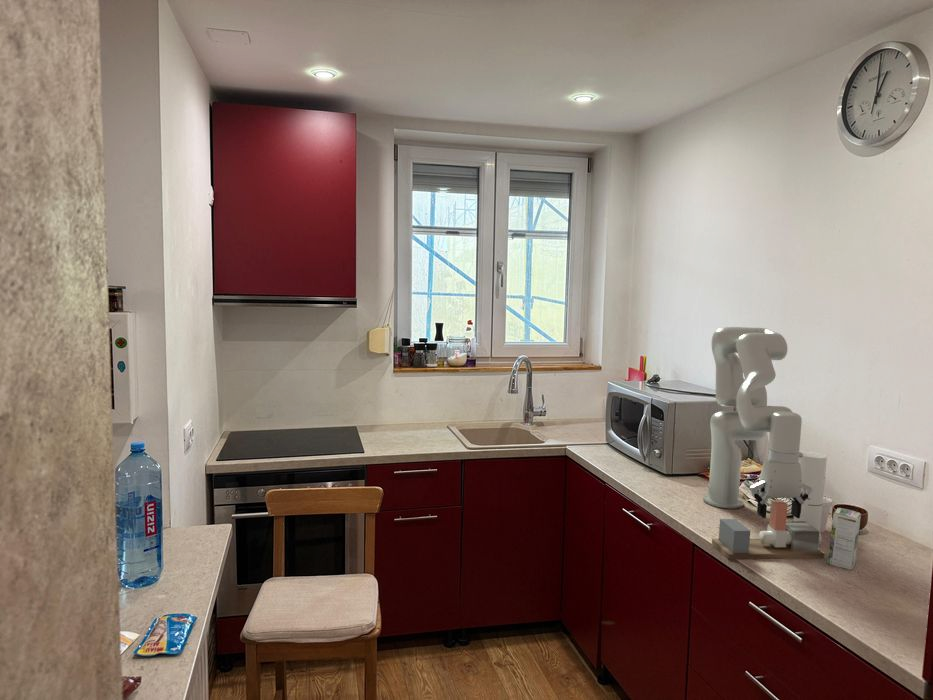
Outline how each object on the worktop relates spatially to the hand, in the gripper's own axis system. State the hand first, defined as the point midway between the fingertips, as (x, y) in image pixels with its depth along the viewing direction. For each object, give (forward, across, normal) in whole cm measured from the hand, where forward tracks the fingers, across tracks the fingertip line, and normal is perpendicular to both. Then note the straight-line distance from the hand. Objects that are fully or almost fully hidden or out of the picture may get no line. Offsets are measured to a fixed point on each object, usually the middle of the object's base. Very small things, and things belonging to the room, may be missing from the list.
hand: (778, 516), depth 175 cm
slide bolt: (+8, -4, 0) cm, 9 cm away
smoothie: (+10, -22, -15) cm, 29 cm away
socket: (+9, +12, 0) cm, 15 cm away
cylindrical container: (+10, -15, -10) cm, 21 cm away
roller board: (+10, +2, 0) cm, 11 cm away
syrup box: (+10, -14, +8) cm, 19 cm away
